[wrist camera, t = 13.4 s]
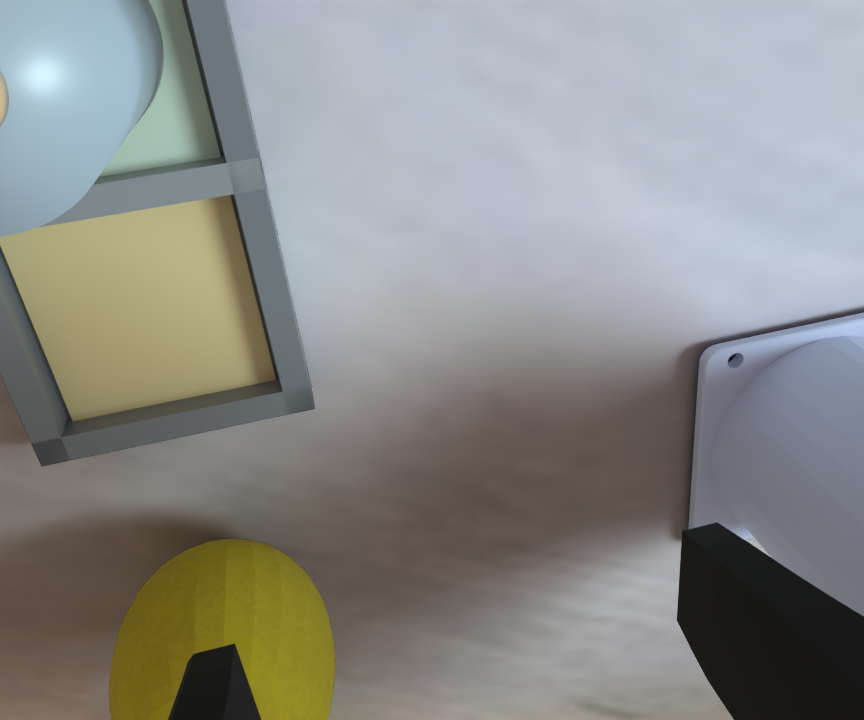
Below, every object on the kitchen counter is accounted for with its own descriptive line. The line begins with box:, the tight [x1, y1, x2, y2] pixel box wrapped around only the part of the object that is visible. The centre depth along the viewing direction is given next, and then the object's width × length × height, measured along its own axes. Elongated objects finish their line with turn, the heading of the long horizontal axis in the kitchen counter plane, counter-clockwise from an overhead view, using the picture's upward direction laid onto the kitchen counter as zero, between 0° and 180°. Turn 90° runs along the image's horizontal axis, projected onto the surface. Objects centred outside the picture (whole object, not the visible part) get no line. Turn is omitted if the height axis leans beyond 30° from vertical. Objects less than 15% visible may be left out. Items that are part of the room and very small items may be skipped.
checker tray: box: [0, 0, 315, 466], centre depth 17 cm, size 7×12×1 cm, turn 7°
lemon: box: [109, 539, 336, 720], centre depth 19 cm, size 6×6×8 cm
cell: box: [0, 0, 164, 237], centre depth 12 cm, size 4×4×7 cm
